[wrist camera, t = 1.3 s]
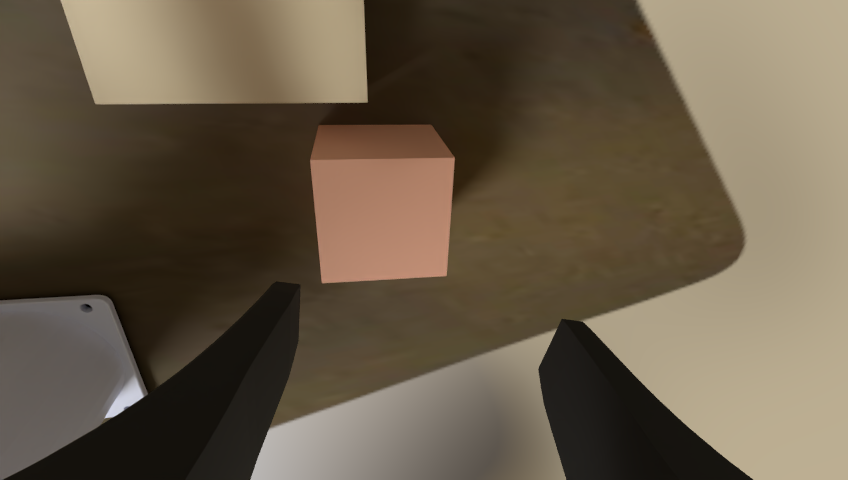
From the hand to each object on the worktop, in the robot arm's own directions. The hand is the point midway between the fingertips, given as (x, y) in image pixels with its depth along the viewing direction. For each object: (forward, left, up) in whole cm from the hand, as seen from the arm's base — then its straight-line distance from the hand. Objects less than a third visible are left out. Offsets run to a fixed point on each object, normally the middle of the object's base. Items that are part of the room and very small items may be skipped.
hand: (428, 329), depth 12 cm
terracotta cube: (-1, +1, -10) cm, 10 cm away
